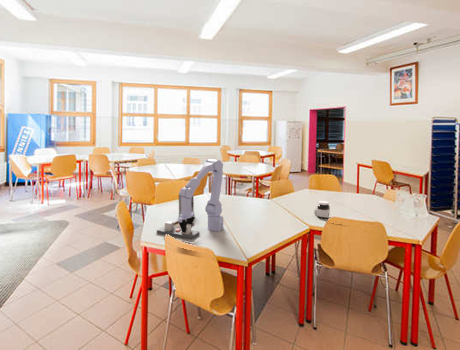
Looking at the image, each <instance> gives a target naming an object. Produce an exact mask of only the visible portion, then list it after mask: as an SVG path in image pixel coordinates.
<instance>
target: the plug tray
mask: <svg viewBox="0 0 460 350" xmlns="http://www.w3.org/2000/svg"><path fill="white" fill-rule="evenodd" d="M173 222H174V227H176V228H181V227H180V225H179V223H178V220H177V221H173ZM194 226H195V222H193V224H192V227H194Z"/></svg>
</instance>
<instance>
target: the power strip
mask: <svg viewBox="0 0 460 350" xmlns="http://www.w3.org/2000/svg"><path fill="white" fill-rule="evenodd" d="M156 234H158V235H159V234H160V235H164V236H166V235H165V234H169V235H171V236H170V237H175V238H180V239H185V240H190V241H191V240H194V239H195V238H197V237H198V236H200V231H198V230H192V229H191V233H190V234H189V235H187V234H182V230H181V228H176V227H174V230H173V231H165V225H164V226H162V227H160V228H158V229H157V230H156Z"/></svg>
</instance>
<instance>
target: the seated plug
mask: <svg viewBox="0 0 460 350" xmlns="http://www.w3.org/2000/svg"><path fill="white" fill-rule="evenodd" d="M174 222H175V221H171V220H168V221H165V222H164V226H165V231H173V230H174Z"/></svg>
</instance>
